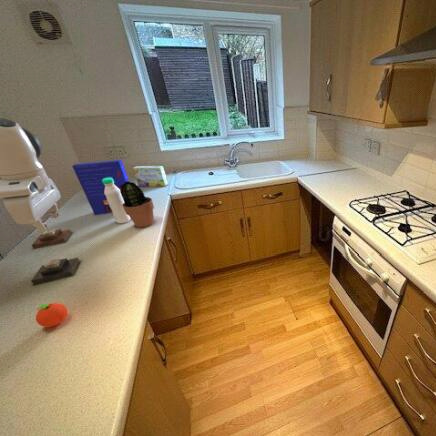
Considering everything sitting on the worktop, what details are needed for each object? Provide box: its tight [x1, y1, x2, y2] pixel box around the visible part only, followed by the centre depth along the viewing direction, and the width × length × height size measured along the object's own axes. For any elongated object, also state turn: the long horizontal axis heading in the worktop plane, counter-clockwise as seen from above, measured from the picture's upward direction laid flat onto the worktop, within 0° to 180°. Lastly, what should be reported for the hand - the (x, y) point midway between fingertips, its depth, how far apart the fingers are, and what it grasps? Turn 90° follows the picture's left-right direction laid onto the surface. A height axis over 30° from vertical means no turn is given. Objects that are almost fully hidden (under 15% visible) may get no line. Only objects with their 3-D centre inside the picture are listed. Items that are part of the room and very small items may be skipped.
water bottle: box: [102, 178, 132, 224], centre depth 130 cm, size 7×7×25 cm
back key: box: [42, 228, 57, 236], centre depth 116 cm, size 4×4×2 cm
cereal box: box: [72, 158, 130, 216], centre depth 142 cm, size 22×6×30 cm, turn 111°
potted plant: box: [121, 181, 155, 228], centre depth 126 cm, size 14×14×25 cm
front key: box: [44, 258, 61, 269], centre depth 95 cm, size 4×4×2 cm
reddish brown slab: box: [31, 228, 73, 250], centre depth 118 cm, size 12×10×4 cm
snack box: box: [132, 165, 169, 187], centre depth 183 cm, size 21×6×15 cm, turn 88°
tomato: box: [35, 302, 68, 328], centre depth 74 cm, size 8×7×7 cm
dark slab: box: [30, 257, 81, 286], centre depth 96 cm, size 12×10×4 cm
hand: (50, 223), depth 74 cm, fingers open, 8 cm apart
